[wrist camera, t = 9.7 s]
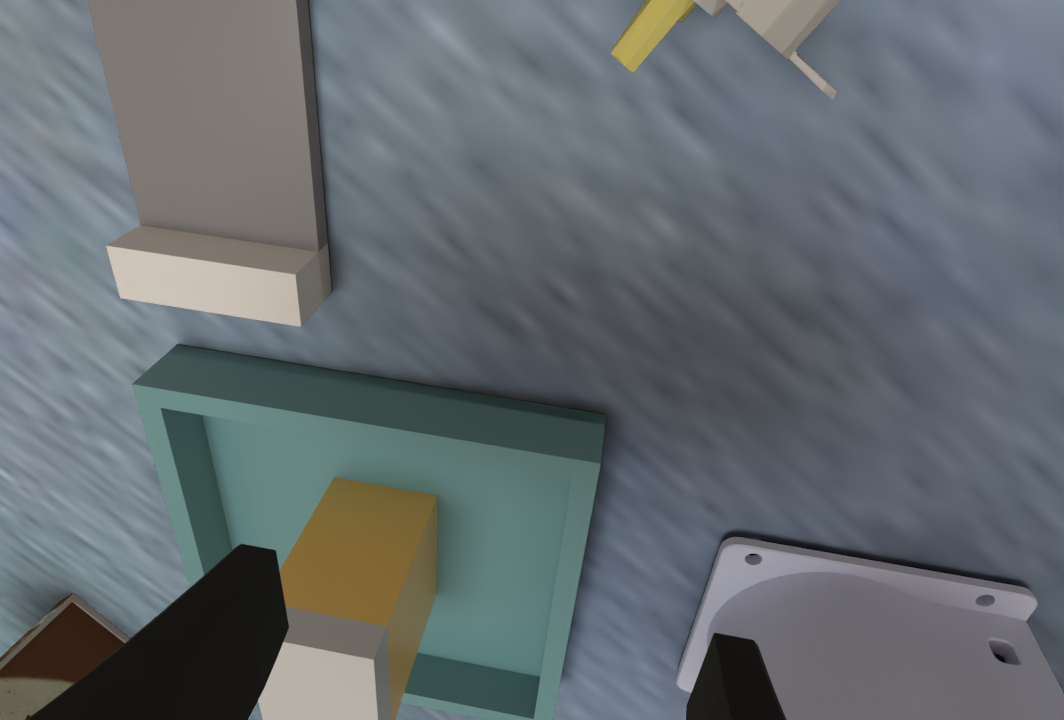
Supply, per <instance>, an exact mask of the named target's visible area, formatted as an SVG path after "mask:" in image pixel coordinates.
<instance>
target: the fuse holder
mask: <svg viewBox="0 0 1064 720" xmlns="http://www.w3.org/2000/svg"><path fill="white" fill-rule="evenodd" d="M87 1H88V5H89V9H90V14H91V18H92V22H93V26H94V30H95V35H96V39H97V43H98V47H99V51H100V56H101V60H102V64H103V68H104V72H105V77H106V81H107V85H108V89H109V93H110V98H111V102H112V106H113V110H114V114H115V119H116V123H117V127H118V131H119V135H120V140H121V144H122V148H123V152H124V157H125V161H126V165H127V169H128V173H129V178H130V182H131V186H132V190H133V194H134V199H135V203H136V207H137V211H138V215H139V220H140V224H141V225H140V226H139V227H137V228H135V229H134V230H132V231H130V232H129V233H127V234H125V235H123V236H122V237H120V238H118V239H117V240H115V241H113V242H112V243H110V244H108V245H106V247H107V251H108V254H109V258H110V262H111V265H112V269H113V273H114V276H115V280H116V284H117V287H118V291H119V295H120V298H123V299H130V300H136V301H142V302H148V303H155V304H161V305H167V306H174V307H180V308H186V309H192V310H199V311H205V312H211V313H218V314H224V315H230V316H236V317H243V318H249V319H255V320H262V321H268V322H274V323H280V324H287V325H293V326H299V327H301V326H302V325H303V324H304V323H305V322H306V321H307V320H308V319H309V317H310V316H311V315H312V314H313V313H314V312H315V311H316V309H317V308H318V307H319V306H320V305H321V304H322V303H323V301H324V300H325V299H326V298H327V297H328V296H329V295H330V294H331V292H332V288H331V276H330V264H329V251H328V239H327V227H326V215H325V202H324V190H323V178H322V166H321V153H320V141H319V129H318V117H317V104H316V92H315V80H314V68H313V56H312V43H311V31H310V19H309V7H308V0H87Z"/></svg>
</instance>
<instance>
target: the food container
mask: <svg viewBox="0 0 1064 720" xmlns="http://www.w3.org/2000/svg"><path fill="white" fill-rule="evenodd" d="M129 639H130V638H129V637H128V636H127V635H125V634H124V633H123V632H122V631H120V630H119V629H118V628H117V627H115V626H114V625H113V624H112V623H110V622H109V621H108V620H107V619H105V618H104V617H103V616H102V615H100V614H99V613H98V612H97V611H95V610H94V609H93V608H92V607H90V606H89V605H88V604H87V603H85V602H84V601H83V600H82V599H80V598H79V597H78V596H77V595H75V594H74V593H73V594H71V595H69V596H68V597H66V598H64V599H63V600H61V601H60V602H59V603H58V604H57V605H56V606H54V607H53V608H52V609H51V610H50V611H49V612H48V613H47V614H46V615H45V616H44V617H43V618H42V619H41V620H40V621H39V622H38V623H36V624H35V625H34V626H33V627H32V628H31V629H30V630H29V631H28V632H27V633H26V634H25V635H24V636H23V637H22V638H21V639H20V640H19V641H17V642H16V643H15V644H14V645H13V646H12V647H11V648H10V649H9V650H8V651H7V652H6V653H5V654H4V655H3V656H2V657H1V658H0V720H26V719H28V718H29V717H30V716H32V715H33V714H35V713H36V712H37V711H39V710H40V709H41V708H43V707H44V706H45V705H47V704H48V703H49V702H51V701H52V700H53V699H55V698H56V697H57V696H59V695H60V694H61V693H63V692H64V691H65V690H66V689H68V688H69V687H70V686H72V685H73V684H74V683H75V682H77V681H78V680H79V679H81V678H82V677H83V676H84V675H86V674H87V673H88V672H90V671H91V670H92V669H93V668H95V667H96V666H97V665H99V664H100V663H101V662H102V661H104V660H105V659H106V658H107V657H109V656H110V655H111V654H112V653H114V652H115V651H116V650H117V649H119V648H120V647H121V646H122V645H123V644H124V643H126V642H127V641H128V640H129Z"/></svg>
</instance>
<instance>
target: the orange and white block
mask: <svg viewBox="0 0 1064 720" xmlns="http://www.w3.org/2000/svg"><path fill="white" fill-rule="evenodd" d="M280 577H281V582H282V588H283V594H284V600H285V606H286V612H287V618H288V623H289V629H288V632H287V634H286V637H285V639H284V642H283V644H282V647H281V649H280V652H279V654H278V657H277V659H276V662H275V664H274V666H273V669H272V671H271V674H270V676H269V678H268V681H267V683H266V685H265V688H264V690H263V692H262V694H261V695H260V697H259V699H258V702H259V706H260V710H261V714H262V718H263V720H395V718H396V715H397V712H398V709H399V706H400V703H401V700H402V697H403V694H404V691H405V688H406V685H407V682H408V679H409V676H410V673H411V670H412V667H413V664H414V661H415V658H416V655H417V652H418V649H419V646H420V643H421V640H422V637H423V634H424V631H425V628H426V625H427V622H428V619H429V616H430V613H431V610H432V607H433V604H434V601H435V598H436V586H437V495H434V494H428V493H422V492H416V491H411V490H405V489H399V488H393V487H388V486H382V485H376V484H370V483H365V482H359V481H353V480H348V479H342V478H336V477H334V478H333V480H332V482H331V483H330V485H329V487H328V488H327V490H326V492H325V494H324V495H323V497H322V499H321V500H320V502H319V504H318V506H317V507H316V509H315V511H314V512H313V514H312V516H311V518H310V519H309V521H308V523H307V524H306V526H305V528H304V529H303V531H302V533H301V535H300V536H299V538H298V540H297V541H296V543H295V545H294V547H293V548H292V550H291V552H290V553H289V555H288V557H287V559H286V560H285V562H284V564H283V565H282V567H281V569H280Z"/></svg>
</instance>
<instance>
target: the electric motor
mask: <svg viewBox="0 0 1064 720" xmlns="http://www.w3.org/2000/svg"><path fill="white" fill-rule="evenodd" d="M840 1H841V0H646V1H645V2H644V4H643V5H642V7H641V8H640V9H639V11H638V12H637V14H636V15H635V17H634V18H633V20H632V21H631V22H630V24H629V25H628V27H627V28H626V30H625V31H624V33H623V34H622V35H621V37H620V38H619V40H618V41H617V43H616V44H615V45H614V47H613V49H612V51H611V54H612V55H613V56H614V57H615V58H616V59H617V60H618V61H619V62H620V63H622V64H623V65H624V66H625V67H626V68H627V69H629V70H630V71H631V72H634V71H635V70H636V69H637V67H638V66H639V65H640V64H641V63H642V62H643V60H644V59H645V58H646V57H647V56H648V54H649V53H650V52H651V51H652V50H653V49H654V47H655V46H656V45H657V44H658V43H659V42H660V40H661V39H662V38H663V37H664V36H665V34H666V33H667V32H668V31H669V30H670V29H671V27H672V26H673V25H674V24H675V23H676V22H677V21H679V22H683V21H684V20H685V18H686V17H687V16H688V15H689V13H690V12H691V11H692V10H693V8H694V7H695V6H696V5H697V4H698V5H699V6H700V7H701V8H703V9H704V10H705V11H706V12H707V13H709V14H710V15H711V16H713V17H716V16H717V15H718V14H719V13H720V11H721V10H722V9H723V8H724V7H725V6H726V5H727V3H729V4H730V5H731V6H732V7H733V8H734V9H735V10H737V12H736V14H737V15H738V16H739V17H741V18H742V19H743V20H744V21H745V22H746V23H747V24H748V25H749V26H750V27H752V28H753V29H754V30H755V31H756V32H757V33H758V34H759V35H760V36H761V37H763V38H764V39H765V40H766V41H767V42H768V43H769V44H771V45H772V46H773V47H774V48H775V49H776V50H777V51H779V52H780V53H781V54H782V55H783V56H785V57H786V58H787V59H788V58H789V59H790V60H791V61H792V62H793V63H794V64H795V65H796V66H797V67H798V68H799V69H800V70H801V71H802V72H803V73H804V74H805V75H806V76H807V77H808V78H809V79H810V80H812V81H813V82H814V83H815V84H816V85H817V86H818V87H819V88H820V89H821V90H822V91H823V92H824V93H825V94H827V95H828V96H829V97H830V98H831V99H832V100H833V99H834V97H835V95H836V94H837V92H836V91H835V90H834V89H833V88H832V87H831V86H830V85H829V84H828V83H827V82H826V81H825V80H824V79H823V78H822V77H821V76H820V75H818V74H817V73H816V72H815V71H814V70H813V69H812V68H811V67H810V66H809V65H808V64H807V63H806V62H805V61H804V60H803V59H802V58H801V57H800V56H799V55H798V54H797V53H796V49H797V48H798V46H799V45H800V44H801V43H802V42H803V41H804V40H805V39H806V38H807V37H808V36H809V34H810V33H811V32H812V31H813V30H814V29H815V28H816V27H817V26H818V25H819V24H820V22H821V21H822V20H823V19H824V18H825V17H826V16H827V15H828V14H829V13H830V11H831V10H832V9H833V8H834V7H835V6H836V5H837V4H838V3H839V2H840Z"/></svg>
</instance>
